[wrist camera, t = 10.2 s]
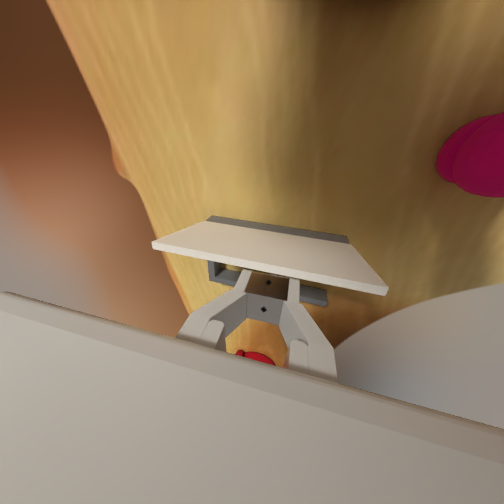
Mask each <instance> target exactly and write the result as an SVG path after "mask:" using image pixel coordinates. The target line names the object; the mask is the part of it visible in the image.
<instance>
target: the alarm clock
mask: <svg viewBox="0 0 504 504" xmlns="http://www.w3.org/2000/svg"><path fill="white" fill-rule="evenodd" d="M235 355H238V356H242V357H245V358H249V359H253V360H256V361H260V362H264V363H267V364H271V365H274V366H275V364H274V362H273V361H272V360H271V359H270V358H268V357H267V356H265V355H262V354H260V353H256V352H246V353H243V351H242V350H238V351H237V353H236V354H235Z"/></svg>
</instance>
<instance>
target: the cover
mask: <svg viewBox="0 0 504 504" xmlns="http://www.w3.org/2000/svg"><path fill="white" fill-rule="evenodd" d="M152 247H153V249H156V250H161V251H166V252H171V253H175V254H180V255H185V256H190V257H195V258H200V259H205V260H210V261H215V262H220V263H225V264H230V265H235V266H239V267H244V268H249V269H254V270H259V271H264V272H269V273H274V274H279V275H284V276H289V277H294V278H299V279H303V280H308V281H313V282H318V283H323V284H328V285H333V286H338V287H343V288H348V289H353V290H358V291H363V292H367V293H372V294H377V295H382V296H385V295H386V293H387V291H388V289H389V287H388V286H387V285H386V284H385V283H384V282H383V280H382V279H381V278H380V277H379V276H378V275H377V274H376V272H375V271H374V270H373V269H372V268H371V267H370V265H369V264H368V263H367V262H366V261H365V260H364V259H363V257H362V256H361V255H360V254H359V253H358V252H357V250H356V249H355V248H354V247H353V246H352V245H351V244H346V243H340V242H334V241H327V240H321V239H315V238H309V237H302V236H296V235H290V234H284V233H277V232H271V231H265V230H259V229H253V228H246V227H240V226H234V225H228V224H221V223H215V222H209V221H202V222H200V223H197V224H195V225H192V226H190V227H187V228H185V229H182V230H180V231H177V232H175V233H172V234H170V235H167V236H165V237H162V238H160V239H157V240H155V241H152Z"/></svg>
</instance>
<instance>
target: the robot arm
mask: <svg viewBox="0 0 504 504" xmlns="http://www.w3.org/2000/svg"><path fill="white" fill-rule="evenodd" d="M299 299H300V280H299V279H293V278H286V277H281V276H275V275H270V274H265V273H260V272H256V271H250V270H245V269H243V270H242V272H241V274H240V276H239V279H238V281H237V283H236V285H235V287H234V289H233V290H231V289H230V290H229V291H227V292H225V293H224V294H222V295H220V296H219V297H217V298H215V299H214V300H212V301H210V302H209V303H207V304H205V305H204V306H202V307H200V308H199V309H197V310H195V311H194V312H192V313H191V314H190V315H189V317H188V319H187V320H186V322H185V323H184V325H183V326H182V328H181V330H180V331H179V333H178V334H177V336H176V337H175V338H173V337H169V336H166V335H162V334H159V333H155V332H151V331H148V330H144V329H141V328H137V327H133V326H130V325H126V324H123V323H119V322H116V321H111V320H108V319H105V318H101V317H97V316H94V315H90V314H87V313H83V312H80V311H76V310H72V309H69V308H65V307H62V306H58V305H54V304H51V303H47V302H44V301H40V300H37V299H33V298H29V297H26V296H22V295H19V294H15V293H12V292H0V504H504V429H502V428H498V427H494V426H491V425H487V424H484V423H480V422H476V421H473V420H469V419H466V418H462V417H458V416H455V415H451V414H448V413H444V412H440V411H437V410H433V409H429V408H426V407H422V406H419V405H415V404H411V403H407V402H404V401H401V400H397V399H393V398H390V397H386V396H383V395H379V394H375V393H372V392H368V391H364V390H361V389H357V388H354V387H350V386H346V385H343V384H339V383H338V377H337V370H336V363H335V356H334V349H333V347H332V346H331V344H330V343H329V341H328V340H327V339H326V337H325V336H324V334H323V333H322V332H321V330H320V329H319V327H318V326H317V324H316V323H315V322H314V320H313V319H312V317H311V316H310V315H309V313H308V312H307V310H306V309H305V308H304V306H303V305H302V304H299ZM246 318H250V319H255V320H260V321H264V322H268V323H271V324H275V325H279V328H280V330H281V333H282V335H283V338H284V340H285V342H286V345H287V347H288V352H287V355H286V359H285V362H284V365H283V368H282V367H278V366H274V365H271V364H267V363H264V362H260V361H256V360H253V359H249V358H245V357H242V356H238V355H235V354H231V353H227V352H226V342H225V338H226V337H227V336H228V335H229V334H230V333H231V332H232V331H233V330H234V329H236V328H237V327H238V326H239V325H240V324H241V323H242V322H243V321H244V320H245V319H246Z"/></svg>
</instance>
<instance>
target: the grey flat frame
mask: <svg viewBox="0 0 504 504" xmlns="http://www.w3.org/2000/svg"><path fill="white" fill-rule="evenodd" d="M206 221H209V222H215V223H221V224H228V225H234V226H240V227H246V228H253V229H259V230H265V231H271V232H277V233H284V234H290V235H296V236H302V237H309V238H315V239H321V240H327V241H334V242H340V243H346V244H350V243H349V241H348V238H347V236H342V235H335V234H329V233H322V232H316V231H309V230H303V229H296V228H290V227H283V226H277V225H270V224H264V223H257V222H251V221H244V220H238V219H231V218H225V217H218V216H211V217H210V218H208V219H207V220H206ZM208 270H209V281H213V282H218V283H222V284H227V285H231V286H235V285H236V283H237V281H238V279H239V276H240V274H241V272H237V271H232V270H227V269H223V268H221V263H220V262H215V261H210V260H208ZM299 301H302V302H307V303H311V304H315V305H320V306H324V307H326V305H327V302H328V301H327V294H326V290H323V289H318V288H313V287H309V286H304V285H300V299H299Z"/></svg>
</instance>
